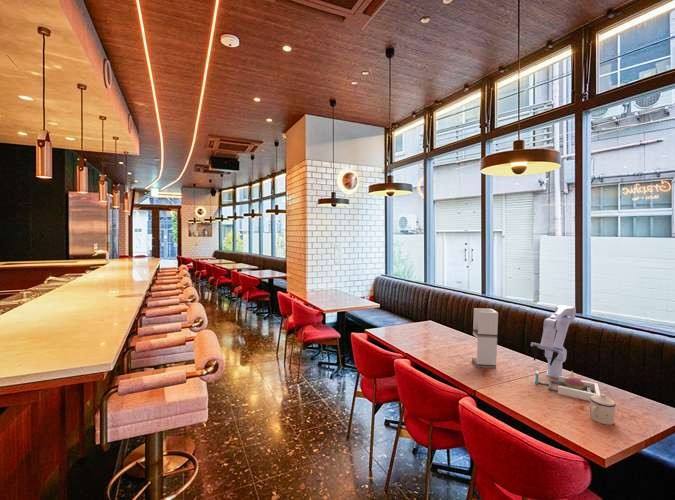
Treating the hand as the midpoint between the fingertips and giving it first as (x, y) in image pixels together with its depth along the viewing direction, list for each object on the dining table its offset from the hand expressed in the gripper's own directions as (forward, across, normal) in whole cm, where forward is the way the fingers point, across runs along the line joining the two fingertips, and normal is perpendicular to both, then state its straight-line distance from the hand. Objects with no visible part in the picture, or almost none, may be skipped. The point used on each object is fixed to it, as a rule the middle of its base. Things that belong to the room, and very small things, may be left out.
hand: (542, 362), depth 187 cm
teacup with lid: (+21, +26, -18) cm, 38 cm away
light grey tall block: (+9, -31, +20) cm, 37 cm away
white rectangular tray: (+8, +17, +7) cm, 20 cm away
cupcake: (+8, +16, +7) cm, 20 cm away
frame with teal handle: (+9, +11, +7) cm, 16 cm away
